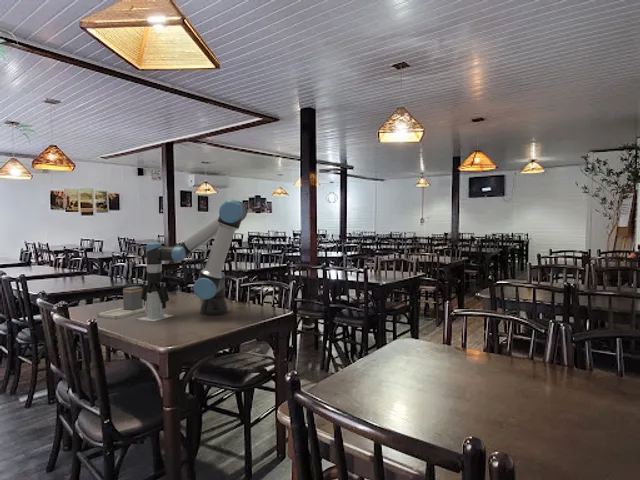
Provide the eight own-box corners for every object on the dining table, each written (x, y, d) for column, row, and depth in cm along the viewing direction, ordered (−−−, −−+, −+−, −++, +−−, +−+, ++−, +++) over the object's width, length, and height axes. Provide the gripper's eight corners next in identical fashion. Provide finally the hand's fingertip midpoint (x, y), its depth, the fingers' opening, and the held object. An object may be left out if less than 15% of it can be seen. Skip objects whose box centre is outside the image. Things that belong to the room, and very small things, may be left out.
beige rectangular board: (151, 310, 242) (150, 307, 242) (116, 319, 220) (116, 316, 220) (132, 308, 247) (132, 305, 247) (97, 316, 225) (97, 313, 225)
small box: (163, 317, 223) (163, 293, 222) (151, 319, 218) (151, 294, 218) (158, 314, 229) (158, 291, 228) (146, 316, 225) (146, 292, 224)
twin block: (142, 309, 241) (142, 287, 241) (131, 312, 234) (131, 289, 233) (134, 308, 244) (134, 286, 243) (123, 311, 236) (122, 288, 236)
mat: (173, 315, 228) (173, 315, 228) (153, 321, 215) (153, 321, 215) (156, 313, 232) (156, 313, 232) (136, 319, 220) (136, 318, 220)
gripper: (176, 272, 221) (176, 314, 223) (143, 270, 230) (144, 310, 231) (165, 273, 215) (166, 317, 216) (132, 271, 223) (133, 313, 224)
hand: (155, 313), depth 224 cm, fingers closed on small box, 10 cm apart
